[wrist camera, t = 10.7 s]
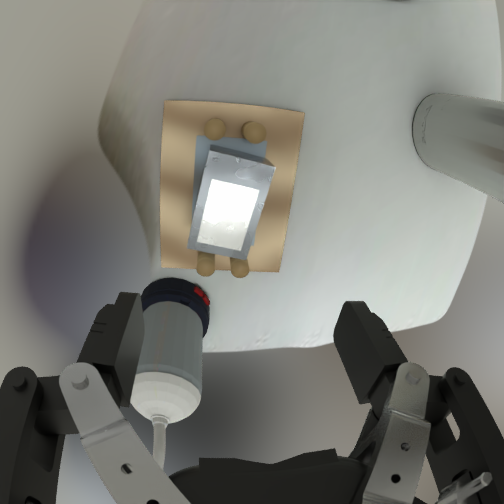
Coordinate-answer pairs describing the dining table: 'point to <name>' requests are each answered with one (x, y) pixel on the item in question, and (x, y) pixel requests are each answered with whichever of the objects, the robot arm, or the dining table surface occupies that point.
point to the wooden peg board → (192, 167)
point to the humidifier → (170, 355)
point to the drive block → (229, 202)
